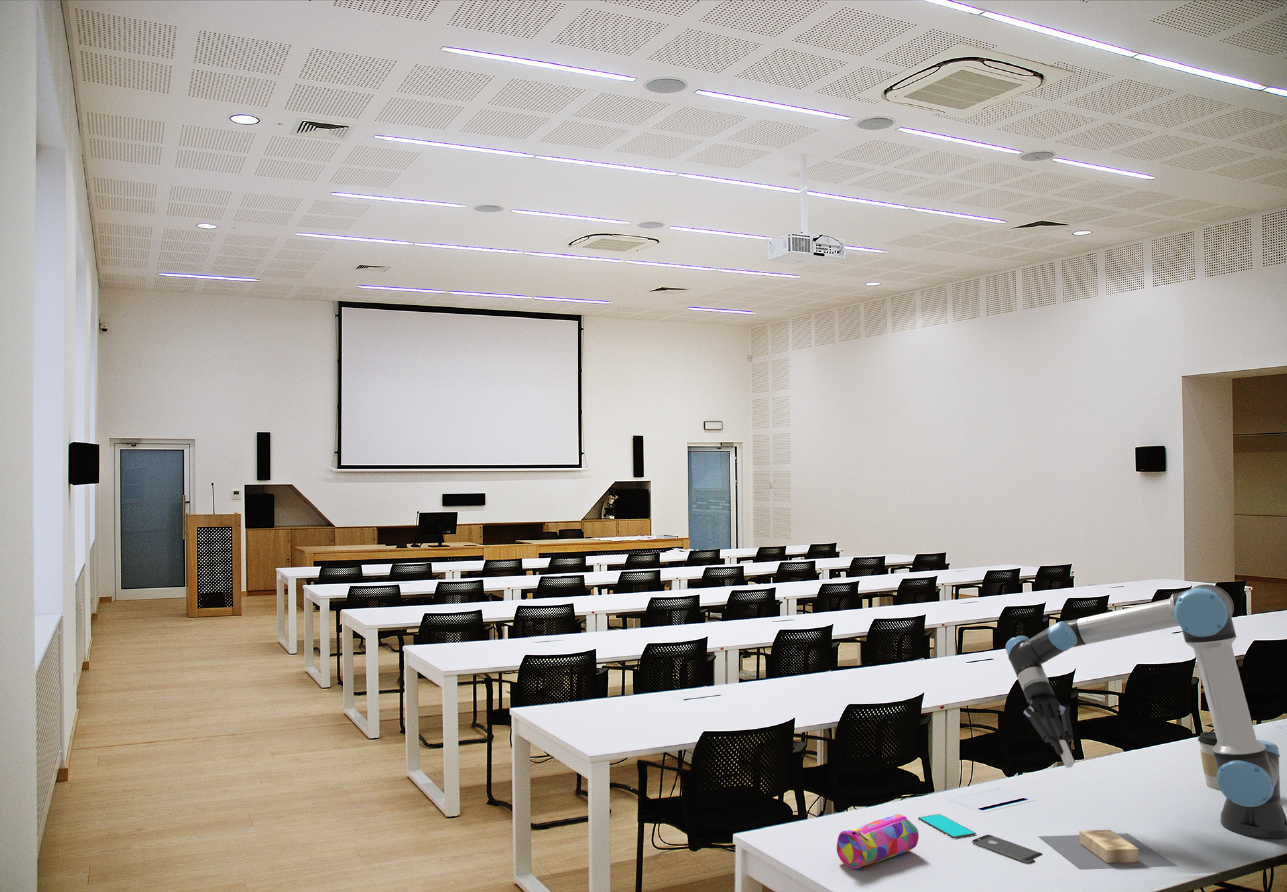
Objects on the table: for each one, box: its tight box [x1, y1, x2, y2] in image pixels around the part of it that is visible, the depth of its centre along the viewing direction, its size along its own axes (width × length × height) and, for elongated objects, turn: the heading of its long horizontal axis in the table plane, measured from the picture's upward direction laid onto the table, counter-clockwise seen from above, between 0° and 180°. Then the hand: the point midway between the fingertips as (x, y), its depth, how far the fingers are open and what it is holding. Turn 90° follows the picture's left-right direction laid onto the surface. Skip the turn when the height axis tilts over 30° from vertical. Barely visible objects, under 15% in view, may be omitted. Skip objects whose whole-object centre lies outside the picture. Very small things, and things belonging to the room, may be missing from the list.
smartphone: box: [917, 813, 977, 839], centre depth 246 cm, size 7×1×15 cm
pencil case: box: [836, 813, 920, 870], centre depth 226 cm, size 22×9×9 cm, turn 125°
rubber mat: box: [1037, 832, 1178, 870], centre depth 228 cm, size 24×20×1 cm
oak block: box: [1078, 829, 1139, 864], centre depth 227 cm, size 8×3×12 cm
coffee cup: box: [1197, 731, 1219, 790], centre depth 276 cm, size 10×10×15 cm
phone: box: [971, 834, 1044, 865], centre depth 231 cm, size 8×1×16 cm
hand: (1070, 764), depth 244 cm, fingers closed
